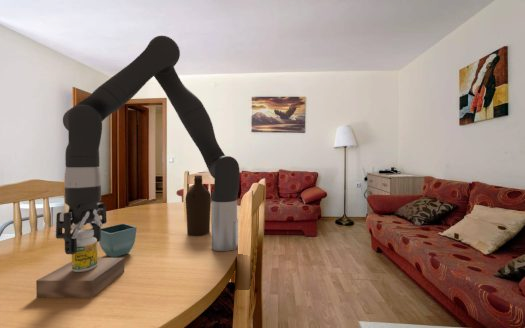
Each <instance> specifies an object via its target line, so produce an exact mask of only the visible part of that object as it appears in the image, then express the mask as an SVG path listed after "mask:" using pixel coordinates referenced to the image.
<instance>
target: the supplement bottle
mask: <svg viewBox="0 0 525 328" xmlns="http://www.w3.org/2000/svg"><path fill="white" fill-rule="evenodd" d="M93 235H94V230H93V229H91V228H87V229H86V228H85V229H81V230H79V232H78V234H77V236H76V238H77V252H76V253H75V254H71V262H72V270H73V271H74V272H84V271H88V270H91V269H93V268H95V267H96V266H97V264H98V259H97V258H98V242H97V239H96V238H95V237H93Z"/></svg>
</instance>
